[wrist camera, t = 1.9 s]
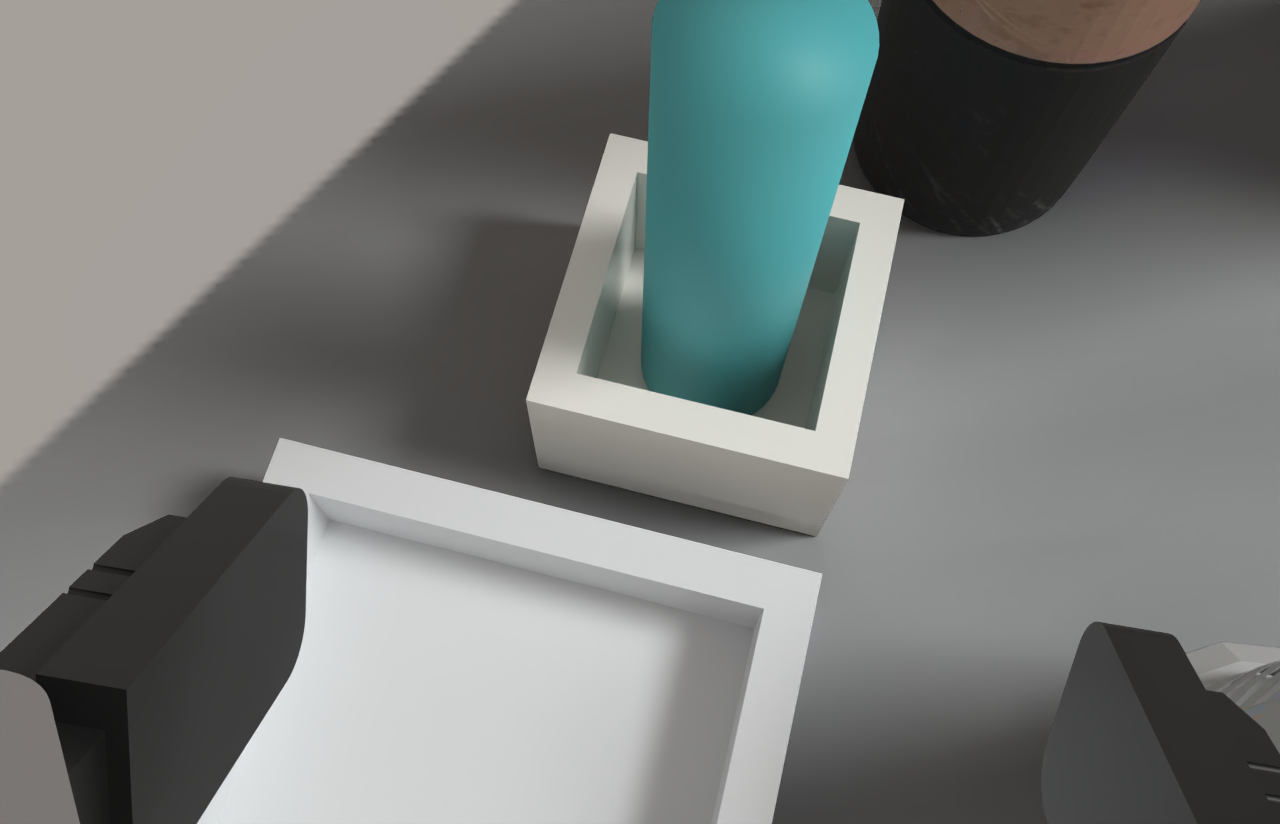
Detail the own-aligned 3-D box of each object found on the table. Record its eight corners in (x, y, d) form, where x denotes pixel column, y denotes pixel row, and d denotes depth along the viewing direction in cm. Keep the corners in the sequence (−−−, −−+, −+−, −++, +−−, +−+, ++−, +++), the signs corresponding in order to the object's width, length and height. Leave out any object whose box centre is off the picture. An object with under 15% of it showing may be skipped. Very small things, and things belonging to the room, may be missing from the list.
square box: (611, 228, 37) (610, 133, 32) (868, 288, 36) (904, 199, 31) (538, 467, 34) (525, 400, 29) (816, 536, 33) (848, 479, 28)
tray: (312, 481, 33) (280, 437, 30) (802, 605, 32) (822, 573, 29) (141, 934, 29) (82, 939, 26) (700, 1094, 28) (710, 1121, 25)
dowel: (659, 284, 35) (681, -76, 22) (794, 315, 35) (897, -31, 22) (625, 407, 33) (626, 100, 20) (765, 441, 33) (856, 151, 20)
